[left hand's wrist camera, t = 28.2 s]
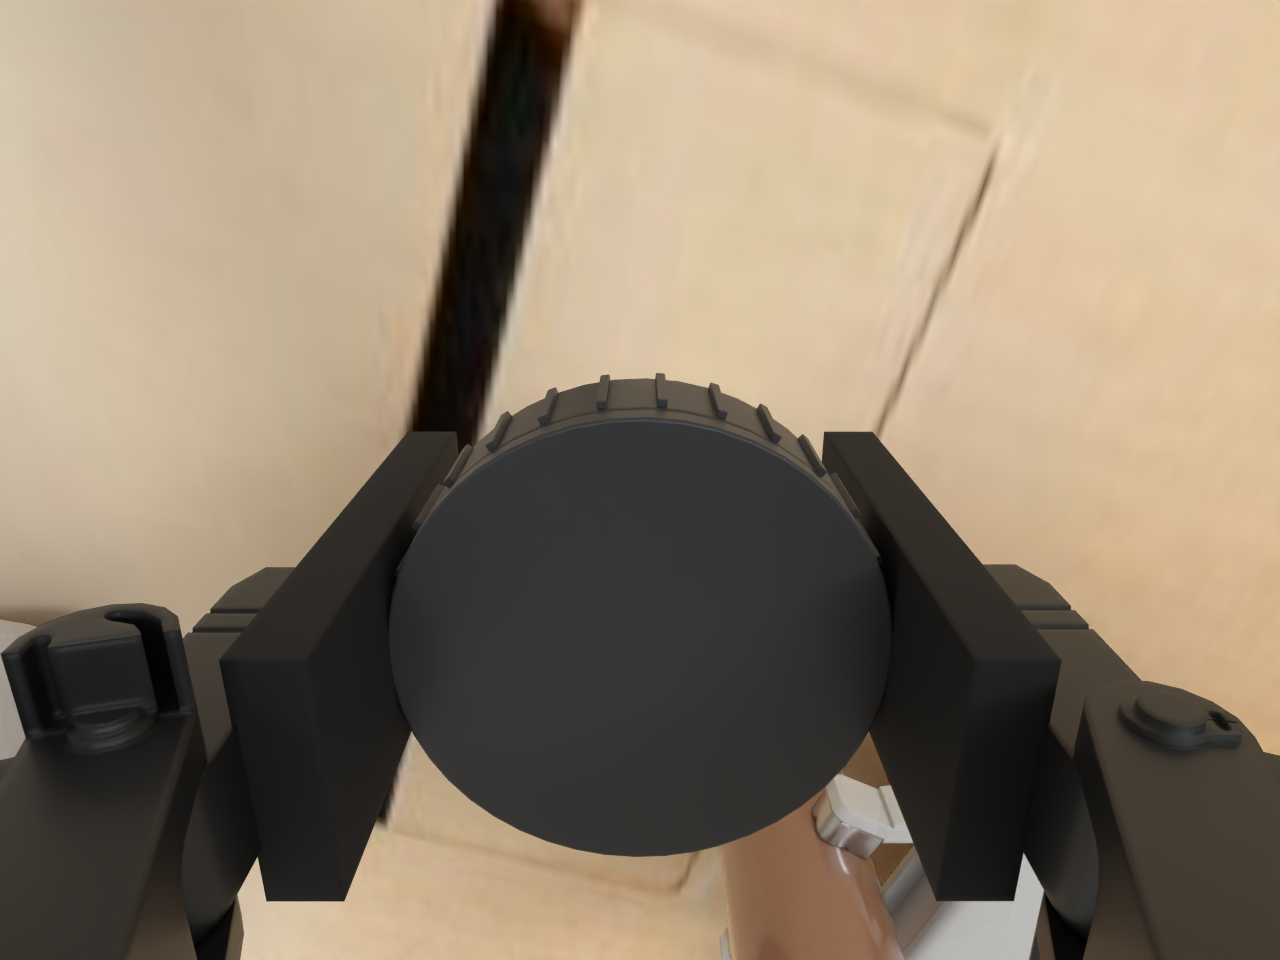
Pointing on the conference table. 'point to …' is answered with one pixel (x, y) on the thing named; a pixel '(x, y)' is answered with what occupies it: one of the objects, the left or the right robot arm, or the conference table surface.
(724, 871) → the jar
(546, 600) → the lid
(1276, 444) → the conference table surface
